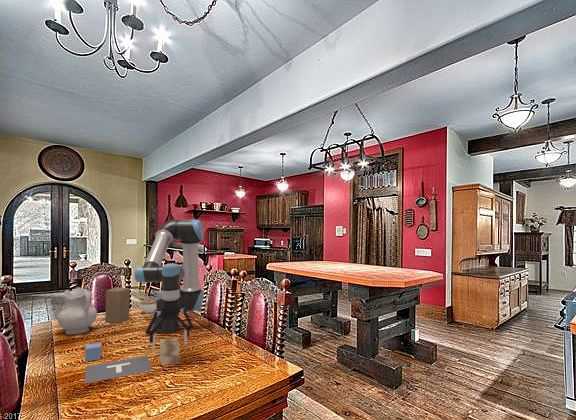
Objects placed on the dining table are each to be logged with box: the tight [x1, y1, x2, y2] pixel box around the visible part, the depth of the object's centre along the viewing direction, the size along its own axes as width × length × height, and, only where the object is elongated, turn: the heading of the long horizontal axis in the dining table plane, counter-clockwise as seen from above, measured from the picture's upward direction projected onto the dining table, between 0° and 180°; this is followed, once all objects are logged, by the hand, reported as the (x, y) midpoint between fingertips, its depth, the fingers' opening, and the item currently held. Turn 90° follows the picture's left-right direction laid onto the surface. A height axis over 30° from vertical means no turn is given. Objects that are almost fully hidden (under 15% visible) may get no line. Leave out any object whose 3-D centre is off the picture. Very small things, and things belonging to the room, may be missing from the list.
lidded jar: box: [140, 298, 156, 314], centre depth 234 cm, size 11×11×9 cm
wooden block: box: [104, 287, 131, 324], centre depth 214 cm, size 10×10×20 cm
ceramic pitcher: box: [56, 286, 98, 335], centre depth 191 cm, size 22×20×25 cm
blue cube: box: [84, 342, 102, 362], centre depth 151 cm, size 6×6×6 cm
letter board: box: [83, 355, 153, 384], centre depth 140 cm, size 24×18×1 cm
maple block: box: [159, 337, 180, 366], centre depth 148 cm, size 7×7×9 cm
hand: (169, 347), depth 148 cm, fingers open, 13 cm apart
